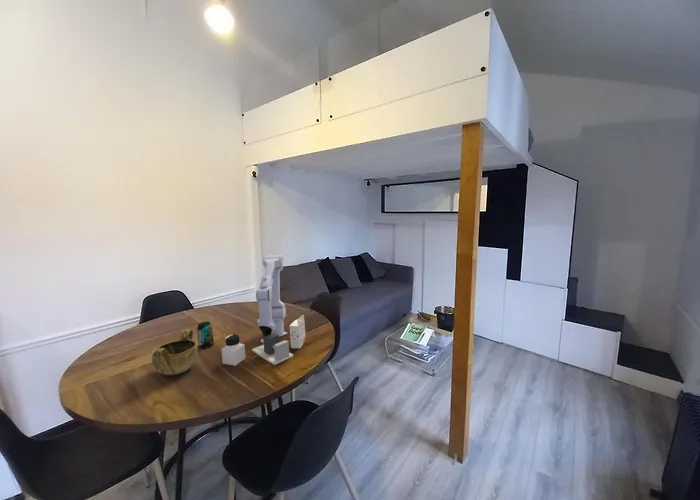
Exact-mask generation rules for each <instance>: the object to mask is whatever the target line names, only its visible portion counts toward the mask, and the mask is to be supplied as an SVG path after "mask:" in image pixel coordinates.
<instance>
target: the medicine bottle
mask: <svg viewBox="0 0 700 500" xmlns="http://www.w3.org/2000/svg"><path fill="white" fill-rule="evenodd" d="M224 341H225V346H224V347H222V348H221V359H222V361H221V362H222V364H223V365H229V366H235V367H236V366H237V365H238V364H240V363H241V362H242V361H244V360H245V359H246V358H247V357H246V349H245V348H246V347H245V344H244V343H241V340H240V335H239V334H234V333H233V334H229V335H227V336H225V339H224Z"/></svg>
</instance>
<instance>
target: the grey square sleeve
mask: <svg viewBox="0 0 700 500" xmlns="http://www.w3.org/2000/svg"><path fill="white" fill-rule="evenodd" d="M262 339H263V342H264V343H263V345H264V352H265V353H267V354H271V353H274V352H275V351H274V349H273V348H272V346H273V345H275V344H277V343H279V342H280V337H279V335H278V334H276V333H272V334H270V335H267V336H263V337H262Z"/></svg>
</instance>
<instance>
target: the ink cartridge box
mask: <svg viewBox="0 0 700 500" xmlns="http://www.w3.org/2000/svg"><path fill="white" fill-rule="evenodd" d="M305 325H306V323H305V315H304V314H302V315H301V316H300V317H299V318H298V319H295V320H294V321H293V322H292V323H291V324H290V325H289V338H290V348H291V349H301V348H302V347H303V345H304V344H305V343H306V340H307V339H306V338H307V337H306V326H305Z"/></svg>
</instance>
